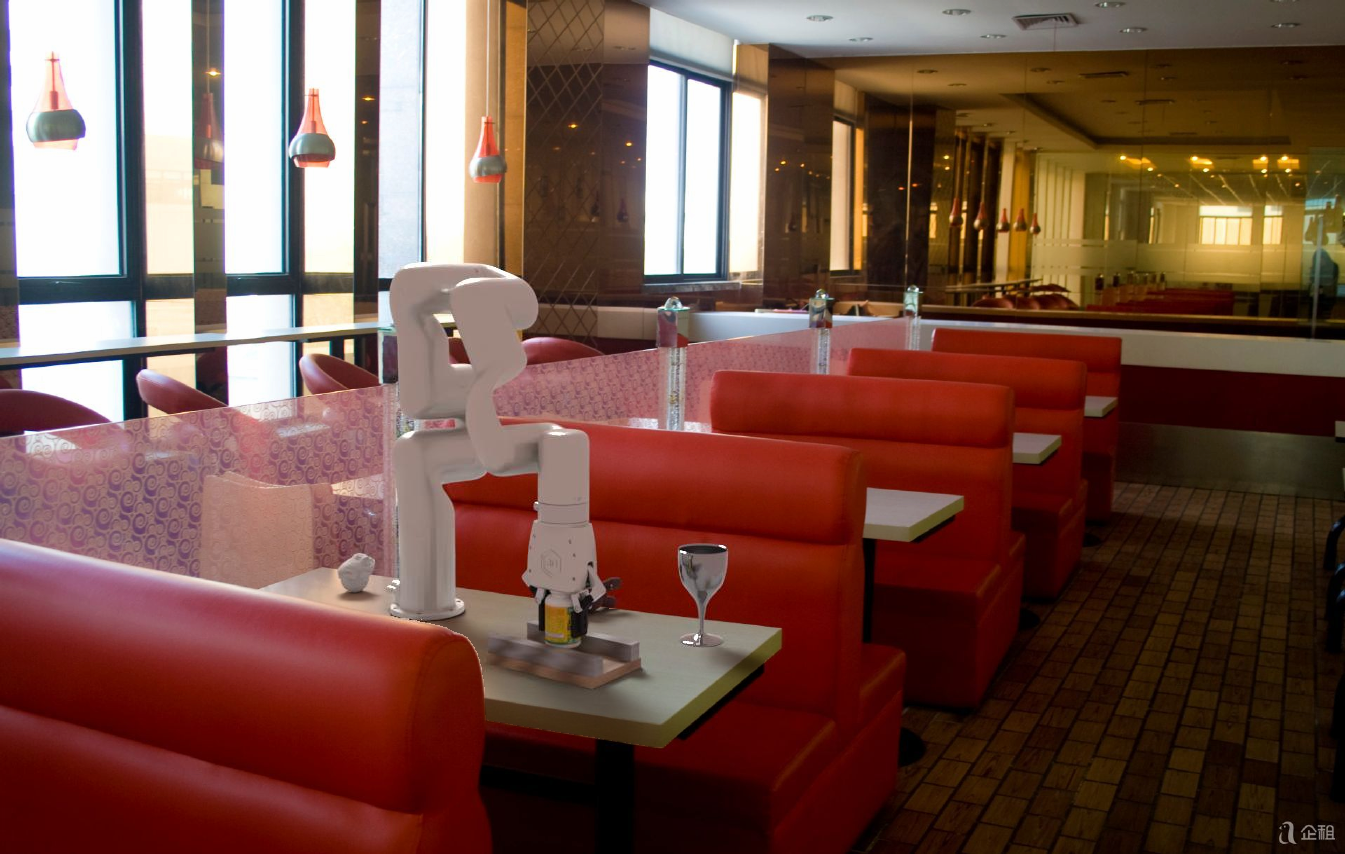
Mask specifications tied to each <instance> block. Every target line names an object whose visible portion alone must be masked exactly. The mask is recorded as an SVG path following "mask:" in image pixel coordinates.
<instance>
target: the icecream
mask: <svg viewBox="0 0 1345 854" xmlns="http://www.w3.org/2000/svg"><path fill="white" fill-rule="evenodd" d="M601 582H602V584H603V585H604V587H605V589H606V593H605V594H603V595H602V596H601V597H600V598H598V600H597V601H596V602H595V603H594V604H593V605H592V607H591V608H590V609H588V613H590V612H594V611H597V610H598V609H600V607H602V608H607V609H609V608H614V607H615V606H616V605H617V603H618V600H617V599H616V598H615V597H614V596H611V595H608V593H607V592H612V591H615V590H618V589H619V588H621V586H622V584H623V581H622V579H621V578H620V577H617V576H615V577H613V576H612V577H608V578H607V579H605V580H603V581H601ZM588 591H589V594H590V593H591V591H592V588H591V589H588ZM579 595H580V599H581V601H582V598H581V594H579Z"/></svg>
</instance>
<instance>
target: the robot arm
mask: <svg viewBox="0 0 1345 854" xmlns="http://www.w3.org/2000/svg"><path fill="white" fill-rule="evenodd" d="M536 295H537V294H536V293H535V291H534V289H533V287H531V286H530V284H529V283H528V282H526V281H525V280H524V279H522V278H520V277H518V276H517V275H515V274H511V273H509V272H506V271H504V270H501V269H500V268H498V267H494V266H493V265H489V264H484V263H472V262H471V263H470V262H466V263H465V262H446V261H424V262H415V263H410V264H407V265H405V266H403V267H401V268H400V269H398V270H397V272H396V273H395V275H393V278H392V280H391V283H390V286H389V296H388V298H389V299H388V300H389V301H388V302H389V304H388V305H389V310H390V315H391V319H392V323H393V325H394V330H395V335H396V343H397V370H398V371H397V372H398V373H397V374H398V375H397V376H398V377H397V379H398V395H399V396H398V398H399V405H400V410H401V412H402V414H403V416H404V417H405V418H406V419H408V420H411V421H415V422H434V421H447V420H454V426H453V427H451V426H450V427H436V428H435V427H434V428H425V429H417V430H412V431H408V432H406V433H403V434H401V435H400V436H399V437H398V438H397V439H396V440H395V441H394V442H393V445H392V447H391V451H390V457H391V461H390V462H391V466H392V472H393V475H394V476H393V477H394V481H395V488H396V497H397V525H398V531H397V532H398V580H397V579H396V580H393V581H392V582H391V584H390V585H388V586H387V587H386V590H385V591H386V593H387V594H390V595H394V599H395V601H394V602H393V603H391V604H390V605H389V613H390V614H391V613H393V614H391V615H392V616H393V617H395V616H398V617H402V618H409V619H412V620H411V621H421V622H422V621H438V620H444V619H449V618H453V617H456V616H459V615H461V614H462V613H463V612H464V611H465V602H464V601H463V600H461V599H460V598H457V597H456V513H455V508H454V504H453V502H452V500H451V498H450V497H449V496H448V494H447V492H446V491H445V489H444V488H443V485H445V484H450V483H458V482H459V483H460V482H466V481H468V482H469V481H473V480H478V479H480V478H482V477H484V476H485V475H486V474H487V473H489V474H490V475H492V476H495V477H511V476H517V475H518V476H519V475H526V474H537V501H535V502H534V503H533V510H535V511H537V519H534V520H533V523H532V527H531V531H530V537H529V543H528V554H527V569H525V572H523V574H522V575H521V579H522V580H523V582H524V583H525V585H526V586H527V587H528V589H529V591H530V592H531V594H532V596H533V597H534V603H535V604H536V605H538V609H537V610H538V616H537V617H538V618H537V620H538V621H539V631H545V599H546V597H547V596H548V595H549V594H551V592H550V590H551V591H556V592H561V593H567V594H571V598H572V602H573V606H574V610H575V611H573V612H572V613H571V637H572V638H575V639H576V638H579V637H581V636H584V635H586V634H587V631H588V629H589V612H588V609H590V608H591V607H592V605H593V604H594V603H595V602H596V601H597V600H598V598H600V597H601V596H602V595H603V594H605V593H606V594H607V591H606V589H605V587H604V585H603V584H602V582H603V581H602V580H601V579H600V577H599V575H598V570H597V569H598V566H597V563H598V561H597V550H596V549H597V548H596V539H595V533H594V527H593V525H592V523H590V438H589V435H588V434H587V433H586V432H585V431H584V430H580V429H576V428H575V429H574V428H573V429H572V428H565V427H563V426H561V425H560V424H557V423H554V422H536V423H535V422H532V423H519V424H508V425H503V424H501V421H500V419H499V416H498V414H497V410H496V408H495V404H494V391H495V389H498V388H500V387H501V386H503V385H505V384H507V383H508V382H510V381H513V379H515V378H517V377H518V376H519V375H520V374H521V373H522V372H523V371H524V370H525V368H526V367H527V364H528V357H527V353H526V351H525V348H524V347H523V344H522V341H521V339H520V336H519V334H518V332H517V331H523V330H528V329H529V328H531V327H532V326H533V325H534V324H535V322H536V320H537V318H538V315H539V303H538V298H537V296H536ZM435 315H452V318H453V321H454V324H455V326H456V328H457V331H458V334H459V336H460V339H461V342H462V343H463V347H464V349H465V352H466V355H467V358H468V359H469V360H468V361H469V362H470V363H469V364H468V363H455V364H454V363H451V362H450V344H449V343H450V342H449V337H448V335H447V332H446V330H445V328H444V327H443V326H442V324H441V322H440V321H439V320H438V318H437V317H436V316H435ZM591 588H592V591H591V593H590V594H589V591H588V589H591ZM579 594H581V598H582V601H581V599H580V595H579ZM398 617H397V618H398ZM421 619H422V620H421Z"/></svg>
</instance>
